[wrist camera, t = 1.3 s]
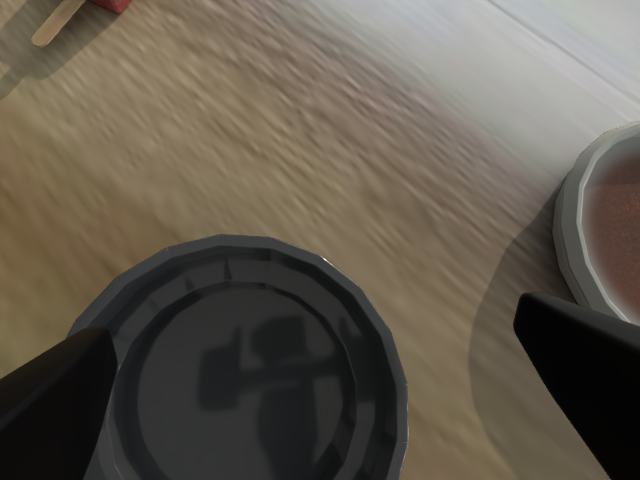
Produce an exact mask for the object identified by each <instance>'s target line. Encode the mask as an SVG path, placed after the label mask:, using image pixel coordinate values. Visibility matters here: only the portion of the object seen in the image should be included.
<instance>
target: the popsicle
mask: <svg viewBox="0 0 640 480" xmlns="http://www.w3.org/2000/svg"><path fill="white" fill-rule="evenodd" d="M84 1H85V0H63V2H62V3H61V4H60V5H59V6H58V7H57V8H56V10H55V11H54V12H53V13H52V14H51V15H50V16H49V18H48V19H47V20H46V21H45V22H44V23H43V24H42V26H41V27H40V28H39V29H38V30H37V31H36V32H35V34H34V35H33V36H32V38H31V42H32V44H33V45H34V46H36V47H38V48H42V47H45V46H46V45H48V44H49V43H50V41H51V40H52V39H53V38H54V37H55V35H56V34H57V33H58V32H59V31H60V30H61V28H62V27H63V26H64V25H65V24H66V23H67V21H68V20H69V19H70V18H71V17H72V16H73V14H74V13H75V12H76V11H77V10H78V8H79V7H80V6H81V5H82V4H83V3H84ZM91 1H93V2H95V3H97V4H99V5H101V6H103V7H105V8H107V9H109V10H111V11H113V12H115V13H118V14H119V13H121V12H122V11H123V10H124V9H125V8H126V7H127V5H128V4H129V2H130V1H131V0H91Z"/></svg>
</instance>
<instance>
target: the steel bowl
mask: <svg viewBox="0 0 640 480" xmlns="http://www.w3.org/2000/svg"><path fill="white" fill-rule="evenodd" d="M101 326H104V327H106V328H108V329H109V331H110V333H111V337H112V341H113V345H114V348H115V352H116V356H117V361H118V367H117V372H116V376H115V380H114V383H113V387H112V391H111V395H110V398H109V402H108V406H107V409H106V413H105V417H104V421H103V424H102V428H101V432H100V435H99V438H98V442H97V445H96V447H95V450H94V453H93V456H92V458H91V461H90V463H89V466H88V468H87V471H86V473H85V476H84V479H83V480H399V476H400V473H401V469H402V465H403V461H404V458H405V454H406V450H407V447H408V392H407V381H406V377H405V374H404V371H403V368H402V365H401V362H400V358H399V355H398V352H397V349H396V346H395V343H394V339H393V336H392V333H391V331H390V329H389V328H388V326H387V325H386V323H385V322H384V320H383V319H382V317H381V316H380V315H379V313H378V312H377V310H376V309H375V307H374V306H373V304H372V303H371V301H370V300H369V298H368V297H367V296H366V294H365V293H364V291H363V290H362V288H360V286H359V285H357V284H356V283H355V282H354V281H352V280H351V279H350V278H349V277H347V276H346V275H345V274H343V273H342V272H341V271H340V270H338V269H337V268H336V267H335V266H333V265H332V264H331V263H330V262H328V261H327V260H326V259H324V258H323V257H322V256H320V255H318V254H316V253H313V252H310V251H308V250H305V249H302V248H300V247H297V246H294V245H292V244H289V243H287V242H284V241H281V240H279V239H276V238H272V237H262V236H244V235H226V234H220V235H215V236H211V237H207V238H203V239H199V240H195V241H191V242H187V243H183V244H179V245H175V246H170V247H168V248H165V249H163V250H161V251H160V252H158V253H156V254H154V255H153V256H151V257H149V258H148V259H146V260H144V261H143V262H141V263H139V264H137V265H136V266H134V267H132V268H131V269H129V270H127V271H125V272H124V273H122V274H120V275H119V276H117V278H115V279H114V280H113V281H112V282H111V283H110V284H109V286H108V287H107V288H106V289H105V290H104V291H103V292H102V293H101V294H100V295H99V296H98V297H97V298H96V299H95V300H94V301H93V302H92V303H91V305H90V306H89V307H88V308H87V309H86V310H85V311H84V312H83V313H82V314H81V315H80V316H79V317H78V318H77V319H76V322H74V324H73V326H72V328H71V329H70V331H69V333H68V335H67V337H66V339H67V338H69V337H70V336H72V335H73V334H75V333H77V332H78V331H80V330H82V329H83V328H89V327H101Z"/></svg>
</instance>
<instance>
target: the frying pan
mask: <svg viewBox="0 0 640 480" xmlns="http://www.w3.org/2000/svg"><path fill="white" fill-rule="evenodd" d="M552 235H553V240H554V244H555V249H556V254H557V259H558V264H559V268H560V270H561V272H562V274H563V276H564V278H565V280H566V282H567V284H568V286H569V288H570V290H571V292H572V294H573V296H574V298H575V300H576V301H577V303H578V304H579V305H580V306H583V307H586V308H589V309H592V310H594V311H597V312H600V313H603V314H606V315H609V316H612V317H614V318H617V319H620V320H623V321H626V322H629V323H632V324H635V325H637V326H640V121H637V122H631V123H628V124H626V125H623V126H620V127H618V128H615V129H612V130H610V131H607V132H604V133H603V134H602V135H600V136H599V137H598V138H597V139H596V140H595V141H594V142H593V143H592V144H591V145H589V146H588V147H587V148H586V149H585V150H584V151H583V152H582V153H581V154H580V155H579V156H578V159H577V161H576V163H575V165H574V167H573V168H572V170H571V171H570V172H569V173H568V174H567V177H566V179H565V181H564V183H563V185H562V187H561V189H560V191H559V194H558V196H557V198H556V200H555V209H554V219H553V229H552Z"/></svg>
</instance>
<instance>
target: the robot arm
mask: <svg viewBox="0 0 640 480" xmlns="http://www.w3.org/2000/svg"><path fill="white" fill-rule="evenodd" d="M513 327H514V331H515V334H516V336H517V337H518V339H519V341H520V343H521V344H522V346H523V348H524V350H525V351H526V353H527V355H528V357H529V358H530V360H531V362H532V363H533V365H534V367H535V369H536V370H537V372H538V374H539V376H540V377H541V379H542V381H543V382H544V384H545V386H546V387H547V389H548V391H549V392H550V394H551V395H552V397H553V398H554V400H555V401H556V403H557V404H558V405H559V407H560V408H561V410H562V411H563V412H564V414H565V415H566V417H567V418H568V420H569V421H570V422H571V424H572V425H573V427H574V428H575V429H576V431H577V432H578V434H579V435H580V436H581V438H582V439H583V441H584V442H585V444H586V445H587V446H588V448H589V449H590V451H591V452H592V453H593V455H594V456H595V458H596V459H597V461H598V462H599V463H600V465H601V466H602V468H603V469H604V470H605V472H606V473H607V475H608V476H609V478H610V479H611V480H640V326H637V325H635V324H632V323H629V322H626V321H623V320H620V319H617V318H614V317H612V316H609V315H606V314H603V313H600V312H597V311H594V310H592V309H589V308H586V307H583V306H580V305H577V304H574V303H572V302H569V301H566V300H563V299H560V298H557V297H554V296H551V295H549V294H546V293H543V292H530V293H524V294H522V295H521V297H520V298H519V302H518V306H517V310H516V314H515V318H514V322H513ZM117 367H118V361H117V356H116V352H115V348H114V345H113V341H112V337H111V333H110V331H109V329H108V328H106V327H104V326H101V327H89V328H83V329H82V330H80V331H78V332H77V333H75V334H73V335H72V336H70V337H69V338H67V339H65V340H64V341H62V342H60V343H59V344H57V345H55V346H54V347H52V348H51V349H49V350H47V351H46V352H44V353H42V354H41V355H39V356H38V357H36V358H34V359H33V360H31V361H29V362H28V363H26V364H24V365H23V366H21V367H20V368H18V369H16V370H15V371H13V372H11V373H10V374H8V375H7V376H5V377H3V378H2V379H0V480H83V479H84V476H85V473H86V471H87V468H88V466H89V463H90V461H91V458H92V456H93V453H94V450H95V447H96V445H97V442H98V438H99V435H100V432H101V428H102V424H103V421H104V417H105V413H106V409H107V406H108V402H109V398H110V395H111V391H112V387H113V383H114V380H115V376H116V372H117Z"/></svg>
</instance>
